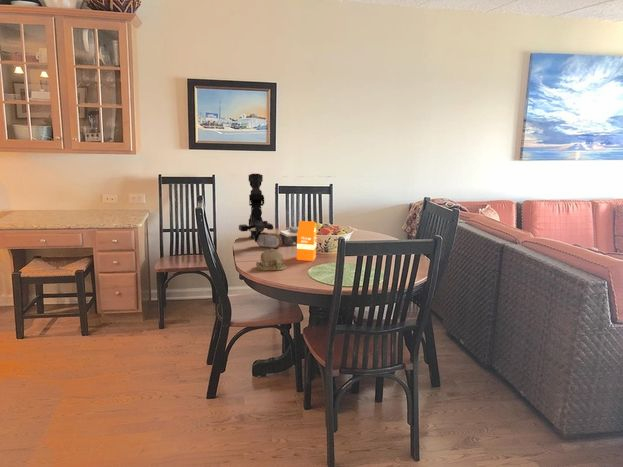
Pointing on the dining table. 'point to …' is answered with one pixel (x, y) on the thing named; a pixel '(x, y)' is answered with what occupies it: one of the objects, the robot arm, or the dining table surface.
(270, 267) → the ceramic model
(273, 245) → the tin
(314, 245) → the orange juice
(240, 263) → the dining table surface
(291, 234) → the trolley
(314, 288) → the dining table surface
